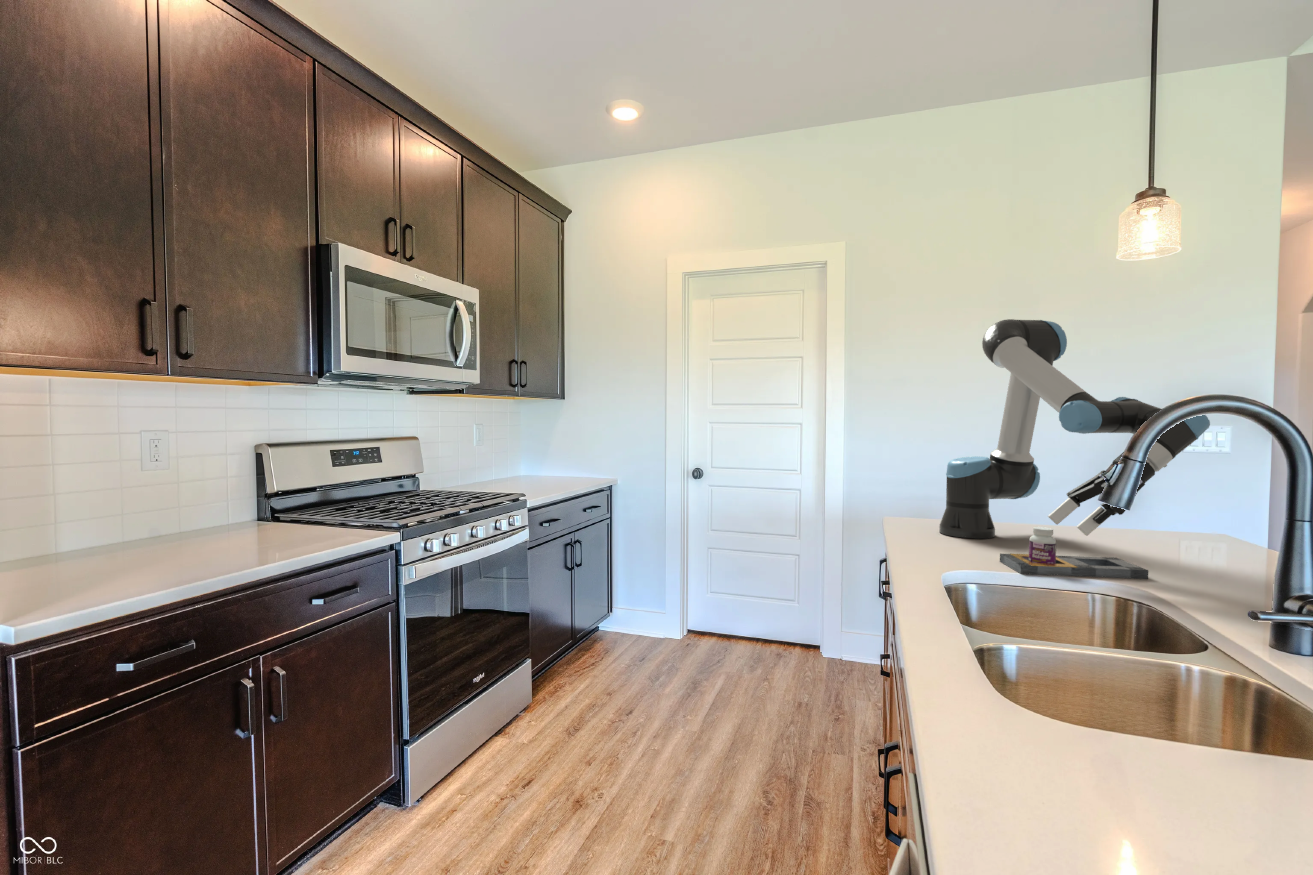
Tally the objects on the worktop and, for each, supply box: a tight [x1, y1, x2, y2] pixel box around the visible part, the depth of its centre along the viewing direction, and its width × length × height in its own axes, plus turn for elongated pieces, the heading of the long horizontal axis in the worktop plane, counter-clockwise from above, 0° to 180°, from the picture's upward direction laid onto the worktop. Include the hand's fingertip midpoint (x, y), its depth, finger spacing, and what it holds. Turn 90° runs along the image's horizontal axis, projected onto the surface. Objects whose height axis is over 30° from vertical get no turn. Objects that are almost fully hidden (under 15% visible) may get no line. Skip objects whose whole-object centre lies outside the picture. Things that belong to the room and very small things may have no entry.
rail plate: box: [999, 553, 1149, 580], centre depth 142 cm, size 12×26×2 cm, turn 81°
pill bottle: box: [1028, 526, 1057, 564], centre depth 143 cm, size 5×5×10 cm
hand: (1066, 525), depth 141 cm, fingers open, 13 cm apart
